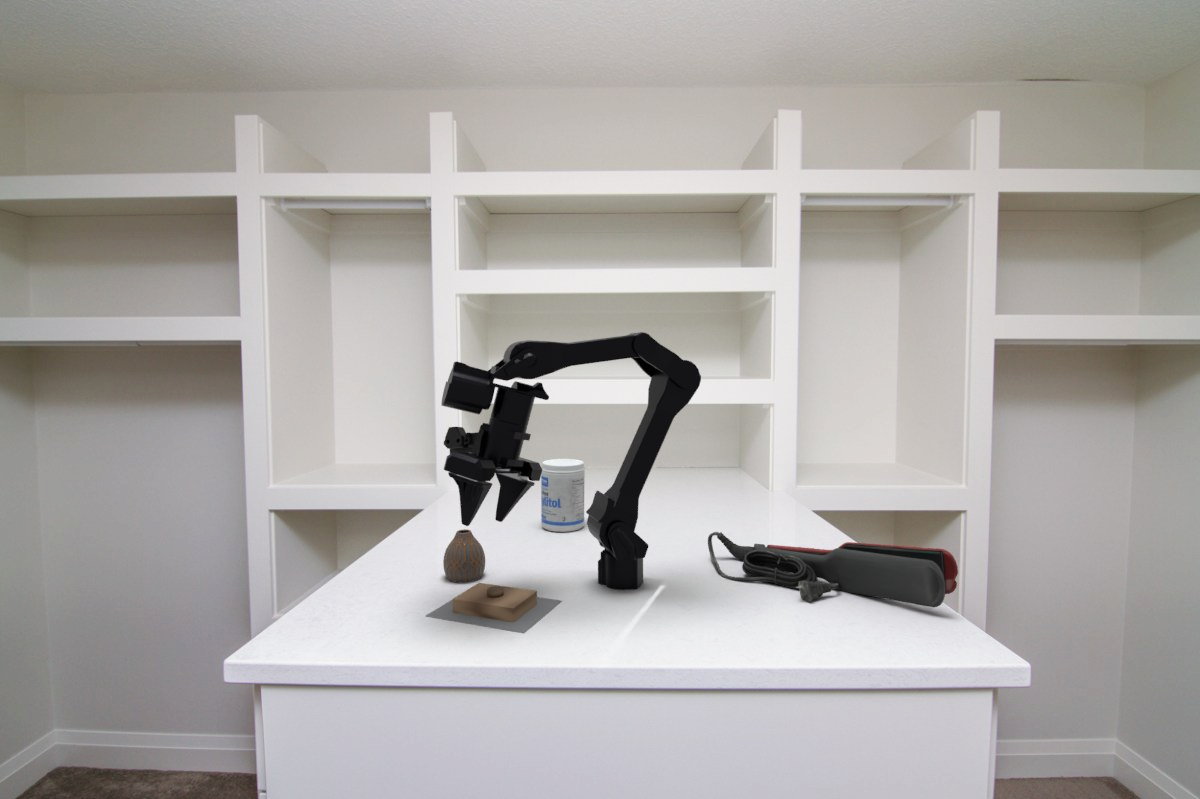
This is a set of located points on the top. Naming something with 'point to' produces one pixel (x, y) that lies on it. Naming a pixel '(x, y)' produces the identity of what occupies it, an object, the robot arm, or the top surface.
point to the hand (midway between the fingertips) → (482, 523)
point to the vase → (464, 558)
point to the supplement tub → (562, 495)
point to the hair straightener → (849, 570)
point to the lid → (495, 602)
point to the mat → (518, 626)
